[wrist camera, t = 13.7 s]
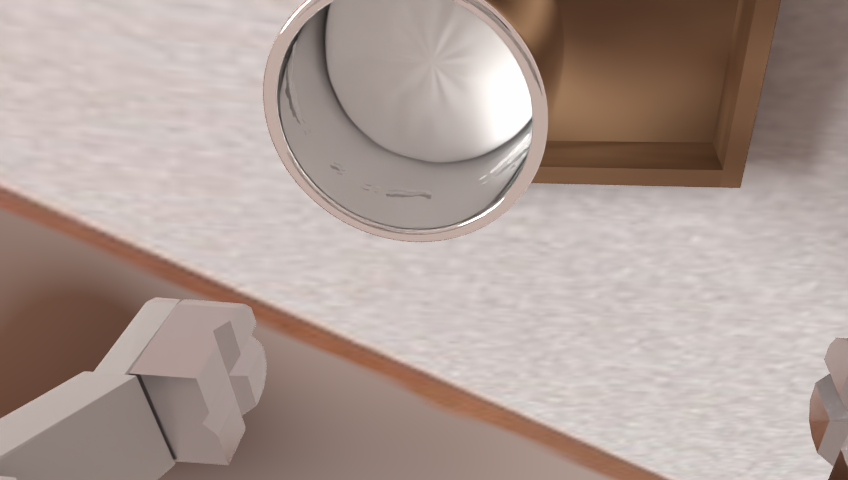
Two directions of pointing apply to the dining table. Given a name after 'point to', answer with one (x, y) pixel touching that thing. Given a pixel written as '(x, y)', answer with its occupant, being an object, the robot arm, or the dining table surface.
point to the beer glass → (414, 108)
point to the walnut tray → (658, 91)
